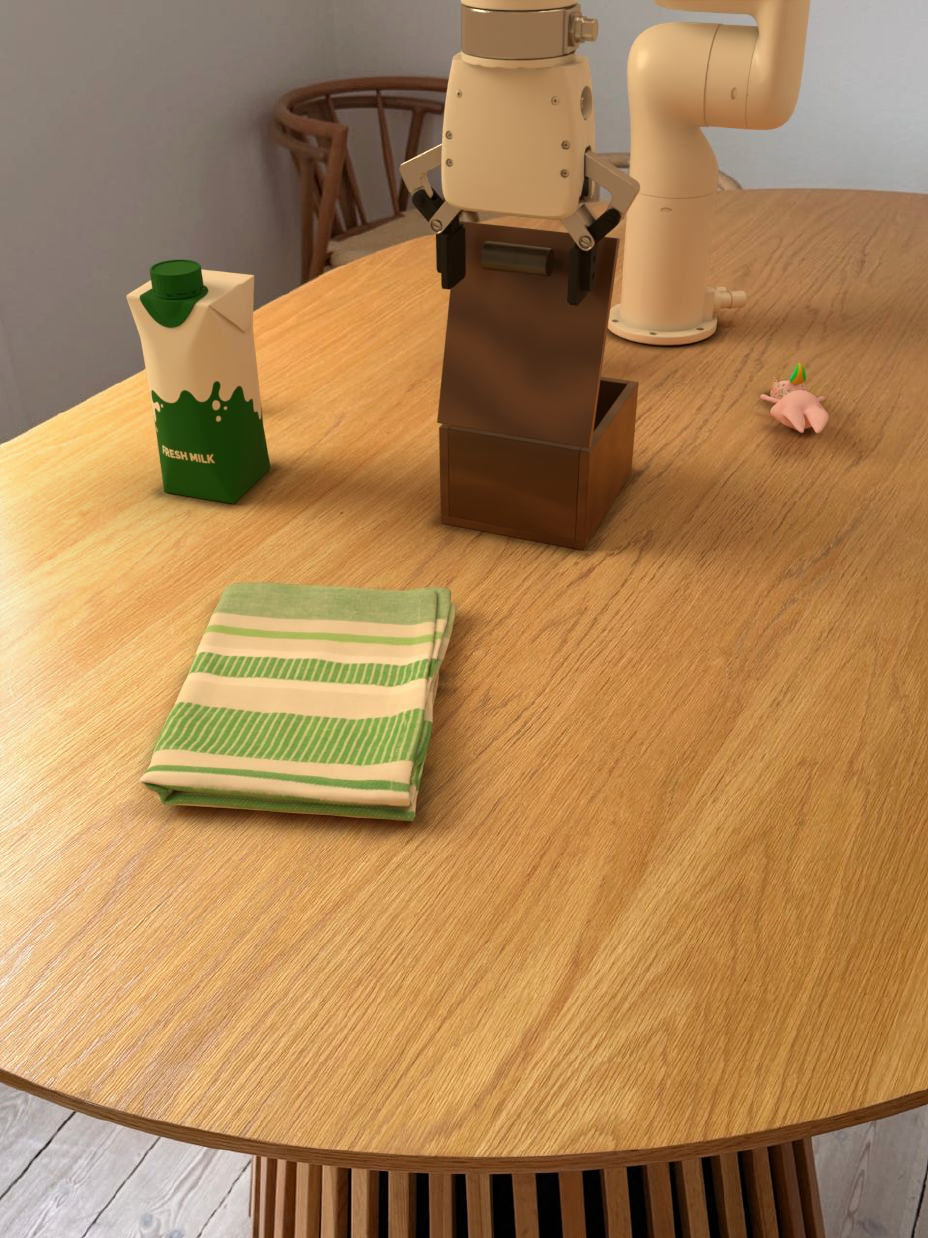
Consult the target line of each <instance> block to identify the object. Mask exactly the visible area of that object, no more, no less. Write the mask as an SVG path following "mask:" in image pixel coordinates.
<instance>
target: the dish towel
mask: <svg viewBox="0 0 928 1238" xmlns="http://www.w3.org/2000/svg"><path fill="white" fill-rule="evenodd" d="M456 612H457V604H455V603H453V602H452V591H451V590H450V589H449V588H447V587H421V588H420V587H419V588H413V589H403V590H402V589H401V590H391V589H377V588H364V587H351V586H339V585H338V586H335V585H320V584H294V583H284V582H283V583H282V582H274V581H273V582H272V581H271V582H270V581H266V582H265V581H263V582H235V583H231V584H228V585H227V586H226V587H225V588H224V589H223V592H222V593H221V594H220V597H219V601H218V602H217V605H216V607H215V608H214V610H213V612H212V614H211V616H210V619H209V621H208V624H207V626H206V628H205V630H204V633H203V635H202V637H201V640H200V642H199V645H198V646H197V649H196V651H195V654H194V656H193V658H192V661H191V664H190V666H189V671H188V672H187V677H186V679H185V680H184V682H183V683H182V686H181V689H180V691H179V693H178V695H177V698H176V700H175V702H174V705H173V706H172V707H171V709H170V711H169V713H168V715H167V717H166V718H165V722H164V723H163V726H162V728H161V730H160V733H159V734H158V737H157V739H156V743H155V745H154V747H153V749H152V753H151V760H150V763H149V765H148V767H147V769H146V771H145V772H144V773H143V775H142V776H141V777H140V778H139V785H140V786H141V787H142V788H143V789H144V790H147V791H148V792H149V793H150V794H152V795H153V796H154V797H155V799H157V800H158V802H160V804H162V805H163V806H191V807H205V808H206V807H207V808H220V809H221V808H222V809H223V808H224V809H235V810H236V809H238V810H249V811H250V810H251V811H264V812H277V813H287V814H303V815H305V814H306V815H321V816H322V815H323V816H324V815H325V816H335V817H346V818H347V817H348V818H357V819H360V818H361V819H376V820H377V819H379V820H389V821H390V820H391V821H393V820H394V821H403V822H404V821H405V822H413V821H415V817H416V812H417V811H416V809H417V799H418V795H419V792H420V790H419V789H420V785H421V781H422V776H423V770H424V765H425V763H426V762H425V761H426V758H427V755H428V752H427V750H428V748H429V744H430V741H431V736H432V731H433V727H434V711H433V710H434V704H435V701H436V697H437V693H438V692H437V691H438V686H439V679H440V671H441V670H440V669H441V666H442V664H443V662H444V660H445V657H446V654H447V650H448V647H449V644H450V641H451V637H452V634H453V630H454V624H455V620H456Z"/></svg>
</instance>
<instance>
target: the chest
mask: <svg viewBox="0 0 928 1238" xmlns="http://www.w3.org/2000/svg"><path fill="white" fill-rule="evenodd" d="M638 393H639V381H634V380H628V379H622V378H615V377H607V376H601V379H600V386H599V394H598V401H597V408H596V415H595V422H594V430H593V437H592V444H591V447H589V448H587V447H581V446H574V445H568V444H562V443H556V442H550V441H544V440H538V439H532V438H526V437H520V436H514V435H508V434H502V433H496V432H489V431H483V430H477V429H471V428H465V427H459V426H453V425H447V424H441V425H440V426H439V427H438V442H439V443H438V448H439V449H438V451H439V452H438V454H439V494H440V496H439V497H440V498H439V499H440V501H439V502H440V524H444V525H449V526H456V527H460V528H464V529H465V528H466V529H471V530H476V531H480V532H486V533H491V534H496V535H502V536H506V537H511V538H516V539H517V538H518V539H521V540H527V541H531V542H538V543H542V544H543V543H544V544H548V545H553V546H559V547H564V548H569V549H574V550H580V551H585V550H586V548H587V546H588V545H589V543H590V542H591V540H592V538H593V537H594V535H595V533H596V532H597V530H598V529H599V527H600V525H601V524H602V522H603V521H604V518H605V517H606V516H607V514H608V513H609V510H610V509H611V507H612V505H613V504H614V502H615V501H616V499H617V497H618V496H619V494H620V493H621V491H622V489H623V487H624V486H625V484H626V483H627V481H628V479H629V478H630V476H631V474H632V470H633V459H634V458H633V457H634V446H635V445H634V444H635V434H636V433H635V432H636V419H637V408H638V407H637V406H638Z"/></svg>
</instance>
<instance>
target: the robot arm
mask: <svg viewBox="0 0 928 1238" xmlns="http://www.w3.org/2000/svg"><path fill="white" fill-rule="evenodd" d="M652 1H653V3H655V4H656V5H658V6H659V7H662V8H663V9H664V8H665V9H667V10H674V11H681V12H690V13H691V12H693V13H709V14H729V15H747V16H751V17H752V18H753V19H754V21H755V23H756V25H744V24H743V25H742V24H723V23H717V22H716V23H715V22H697V21H695V22H694V21H671V22H670V21H668V22H662V23H658V24H655V25H651V26H650V27H648V28H646V29H644V30H643V31H642V32H641V33H640V34H639V35H638V36H637V37H636V38H635V39H634V41H633V43H632V44H631V47H630V50H629V53H628V57H627V64H626V65H627V66H626V86H627V98H628V106H629V121H630V122H629V123H630V124H629V125H630V152H629V153H630V154H629V155H630V156H629V172H628V173H629V174H627V173H626V172H624V171H623V170H621V169H620V168H618V167H617V166H615V165H614V164H613V163H611V162H609V161H608V160H607V159H605V158H604V157H602V156H600V155H599V154H597V153H596V123H595V121H596V120H595V104H594V91H593V83H592V82H593V81H592V75H591V67H590V61H589V57H588V56H586V55H583V54H577V49H579V48H580V45H581V44H585V42H592V43H594V42H596V41H597V38H598V35H599V20H598V18H589V17H588V16H587V15H583V12H582V9H581V7H582V6H581V3H578V2H579V0H460V49H461V50H460V51H458V53H456V54H454V55H453V57H452V59H451V65H450V70H449V76H448V80H447V81H448V82H447V87H446V88H447V89H446V94H445V95H446V96H445V103H444V110H443V111H444V112H443V123H442V139H441V143H439V144H437V145H435V146H433V147H432V148H430V149H427V150H425V151H424V152H421V153H420V154H417V155H416V156H414V157H411V158H410V159H407V160H406V161H404V162H403V163H401V164H400V166H399V168H398V170H399V174H400V176H401V178H402V180H403V182H404V184H405V187H406V189H407V191H408V193H410V195H411V202H412V204H413V206H414V207H415V208H416V210H417V211H418V212H419V213H420V214H421V216H422V217H423V218H424V219H425V220H426V221H427V222H428V229H429V230H430V232H431V233H433V234H435V257H436V258H435V259H436V261H435V263H436V272H437V273H438V274H440V276H441V277H440V279H441V280H440V281H441V284H440V285H441V289H442V290H449V291H450V289H451V288H453V287H454V286H455V285H456V284H458V283H459V282H460V281H461V280H462V279H464V278H465V275H466V241H465V227H463V224H461V223H459V221H460V218H461V217H462V215H463V214H464V213H465V212H466V211H467V212H472V213H473V212H474V213H483V214H490V215H491V214H492V215H500V216H507V217H508V216H509V217H518V218H529V219H539V220H553V221H557V220H559V221H560V223H561V224H562V225H563V227H564V228H565V229H566V231H567V233H569V234H570V235H571V237H572V238H573V239H574V241H575V246H574V247H573V248H572V249H571V250H570V252H569V267H568V292H567V302H568V303H569V304H570V305H574V306H578V305H579V303H580V302H581V301H582V300H583V299H584V298H585V297H586V296H587V294H588V292H589V291H590V292H591V291H592V290H593V289H594V287H595V283H596V272H597V253H598V242H599V241H600V240H601V239H602V238H604V237H607V235H609V233H610V232H613V230H614V229H615V228H616V227H617V226H618V225H619V224H621V222H622V221H623V220H624V218H625V217H626V218H625V233H624V249H623V262H622V263H623V264H622V279H621V293H620V303H617V304H615V305H613V306H612V307H610V314H609V322H608V329H607V330H609V331H610V332H611V333H612V334H614V335H615V336H618V337H620V338H622V339H625V340H628V341H631V342H635V343H639V344H644V345H645V344H646V345H653V346H654V345H655V346H680V345H688V344H693V343H698V342H700V341H703V340H705V339H708V338H710V337H711V336H712V335H713V334H714V333H716V329H717V327H718V318H717V315H716V314H715V313H719V312H720V310H721V309H729V310H731V309H740V308H745V307H746V304H747V294H746V291H745V290H743V289H742V290H731V291H729V290H727V288H726V286H715V287H711V286H710V285H708V281H709V272H710V264H711V263H710V262H711V253H712V244H713V234H714V226H715V217H716V209H717V208H716V206H717V197H718V189H719V180H720V179H719V178H720V172H719V171H720V170H719V169H720V168H719V163H718V159H717V156H716V154H715V151H714V150H713V147H712V145H711V144H710V142H709V140H708V139H707V137H706V135H705V134H704V132H703V130H702V129H701V128H711V127H712V128H723V129H724V128H725V129H736V130H751V131H770V130H775V129H778V128H780V127H783V126H784V125H785V124H786V123H788V121H789V120H790V119H791V118H792V115H793V114H794V113H795V109H796V107H797V103H798V100H799V95H800V90H801V87H802V86H801V85H802V78H803V70H804V60H805V51H806V43H807V36H808V35H807V34H808V26H809V17H810V8H811V7H810V6H811V0H652ZM439 166H440V168H441V170H440V173H441V175H440V177H441V189H442V196H443V198H444V199H443V198H442V197H441V196H440V195H439V193H438V192H437V191H436V190H435V189H434V187H432V186H431V184H430V181H429V178H428V172H429V171H431V170H433V169H436V168H437V167H439ZM596 184H597V185H599V186H600V187H602V188H603V189H605V190H606V191H608V192H609V193H610V196H611V200H610V202H609V203H608V206H607V208H606V210H605V211H604V212H603V213H602V214H600V216H599V217H598V216H597V215H596V214H595V212H594V211H593V209H592V208H591V206H590V205H589V203H588V202H589V201H591V200H592V198H593V196H594V193H595V187H596Z"/></svg>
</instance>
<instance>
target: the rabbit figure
mask: <svg viewBox="0 0 928 1238" xmlns="http://www.w3.org/2000/svg"><path fill="white" fill-rule="evenodd" d="M806 381H807V374H806V370H805V367H804V365H803V364H802V363H801V362H797V363H796V365H795V368H794V370H792V373H791V374H790V376H789V380H781V381H778V379H777V378H776V377H775V376H773V381H772V382H771V385H770V386H769V389H768V392H770V393H769V395H770V396H769V395H767V394H765V393H764V394H763V393H762V394H760V397H759V398H760V399H761V401H762V400H763V401H766V402H769V403H772V404H774V405H773V406H772V407H771V409H770V411H769V412H770V415H771V416H772V417H773V418H774V420H776V421H777V422H779V423H781V424H782V425H784V426H786V427H789V428H791V429H793V430H794V431H797V432H799V433H800V434H803V433H804V432H805V430H807V429H809V428H812V429H813V430H814V432H815V433H816V434H820V433H821V432H822V431H823V430H824V428H825V427H826V426H827V423H828V421H829V417H830V416H829V413H828V412H827V411H826V409H825V408H824V407H823V405H822V404H821V403H823V402H824V401H825V400H826V396H824V395H820V396H819V397H816V396H815V394H813V393H812V392H810V391H809V390H808V387H807V385H806V383H805V382H806Z"/></svg>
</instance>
